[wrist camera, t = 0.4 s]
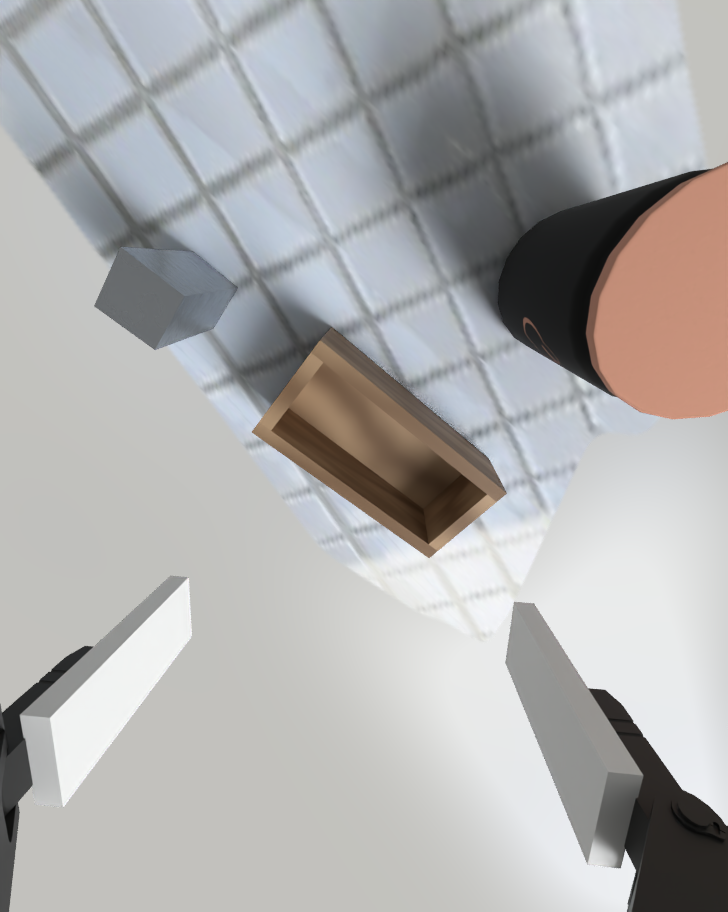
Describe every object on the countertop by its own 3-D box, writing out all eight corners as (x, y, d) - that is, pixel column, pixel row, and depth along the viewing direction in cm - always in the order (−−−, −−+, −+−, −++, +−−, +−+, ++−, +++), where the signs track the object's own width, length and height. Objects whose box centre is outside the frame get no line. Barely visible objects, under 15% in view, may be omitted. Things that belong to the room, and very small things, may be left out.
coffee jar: (471, 322, 34) (545, 373, 18) (537, 186, 30) (714, 94, 14) (576, 366, 36) (731, 450, 19) (655, 242, 31) (945, 219, 15)
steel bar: (193, 251, 33) (120, 246, 24) (237, 287, 34) (184, 296, 25) (169, 295, 35) (94, 306, 26) (213, 328, 36) (154, 349, 27)
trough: (331, 326, 35) (320, 340, 29) (488, 458, 40) (506, 493, 34) (272, 405, 39) (251, 432, 33) (423, 517, 44) (429, 558, 38)
